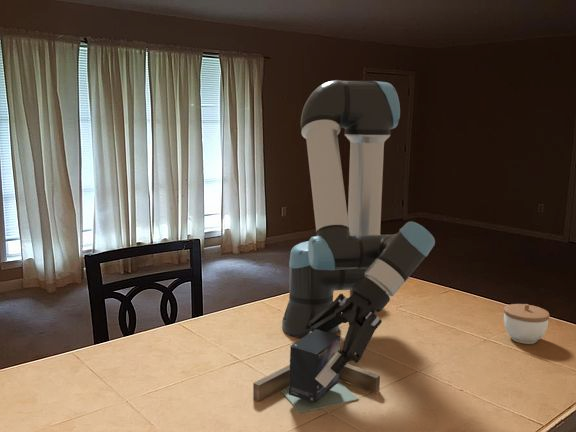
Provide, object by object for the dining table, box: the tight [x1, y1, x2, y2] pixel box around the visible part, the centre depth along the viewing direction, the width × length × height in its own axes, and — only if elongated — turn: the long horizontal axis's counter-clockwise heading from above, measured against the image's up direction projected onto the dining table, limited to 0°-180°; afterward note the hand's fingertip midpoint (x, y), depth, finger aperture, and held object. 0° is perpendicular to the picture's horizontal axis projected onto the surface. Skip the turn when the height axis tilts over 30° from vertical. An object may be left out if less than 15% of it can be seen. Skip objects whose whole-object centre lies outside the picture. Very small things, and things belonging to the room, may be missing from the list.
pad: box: [280, 381, 359, 414], centre depth 113 cm, size 9×13×1 cm
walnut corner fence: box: [252, 363, 381, 402], centre depth 113 cm, size 17×20×4 cm
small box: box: [288, 329, 342, 403], centre depth 111 cm, size 11×6×10 cm, turn 149°
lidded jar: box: [503, 303, 550, 345], centre depth 142 cm, size 11×11×9 cm
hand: (307, 370), depth 110 cm, fingers closed on small box, 10 cm apart
